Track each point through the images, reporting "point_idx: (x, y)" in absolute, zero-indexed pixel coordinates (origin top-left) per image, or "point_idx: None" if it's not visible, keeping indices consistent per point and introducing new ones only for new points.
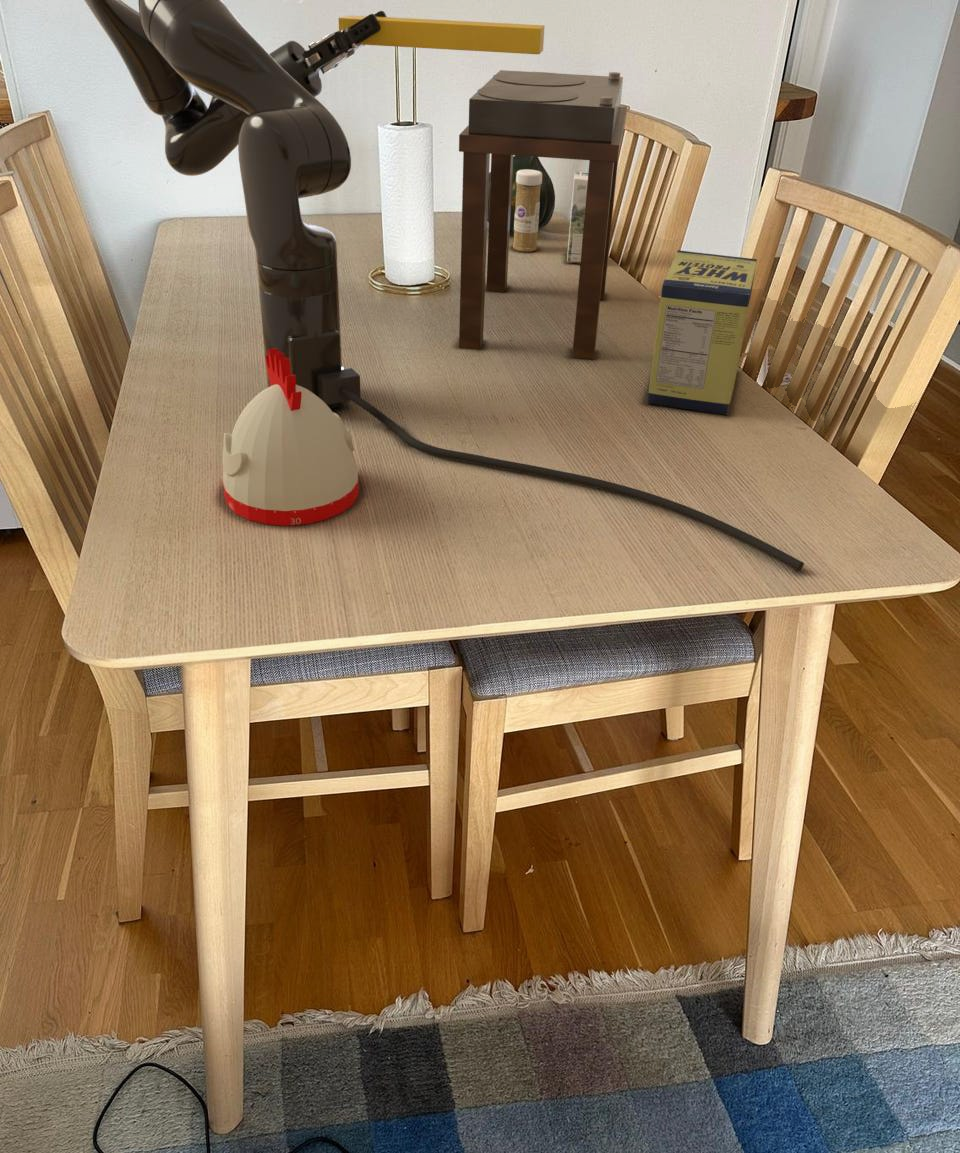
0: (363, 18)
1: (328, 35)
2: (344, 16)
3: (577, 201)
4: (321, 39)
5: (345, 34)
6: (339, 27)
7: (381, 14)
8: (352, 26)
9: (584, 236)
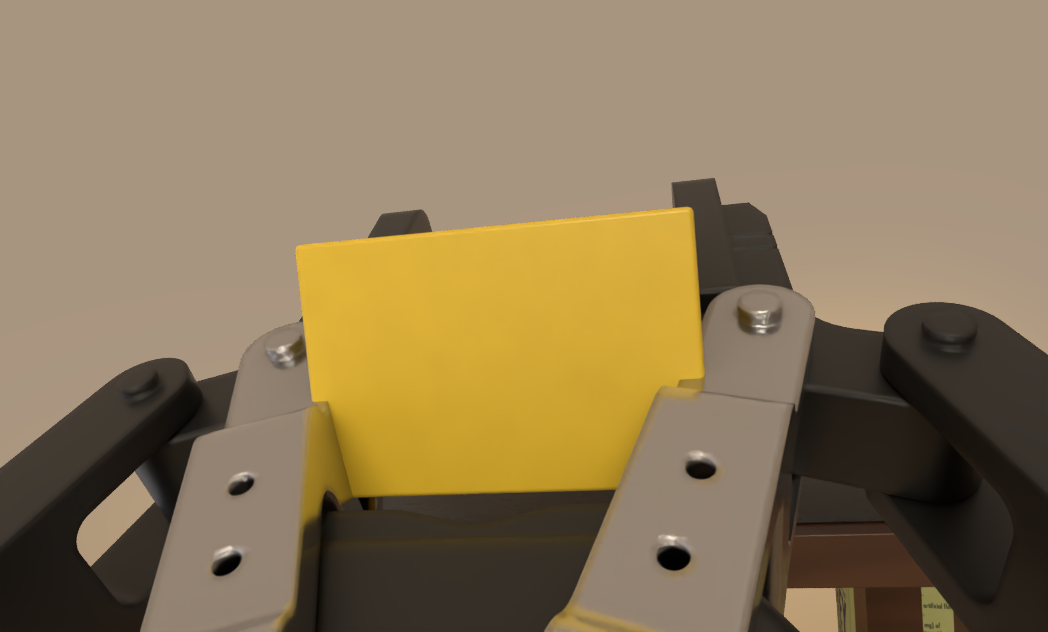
0: (720, 207)
1: (783, 429)
2: (475, 228)
3: None
4: (766, 541)
5: (867, 338)
6: (696, 312)
7: (426, 231)
8: (737, 276)
9: (922, 613)
